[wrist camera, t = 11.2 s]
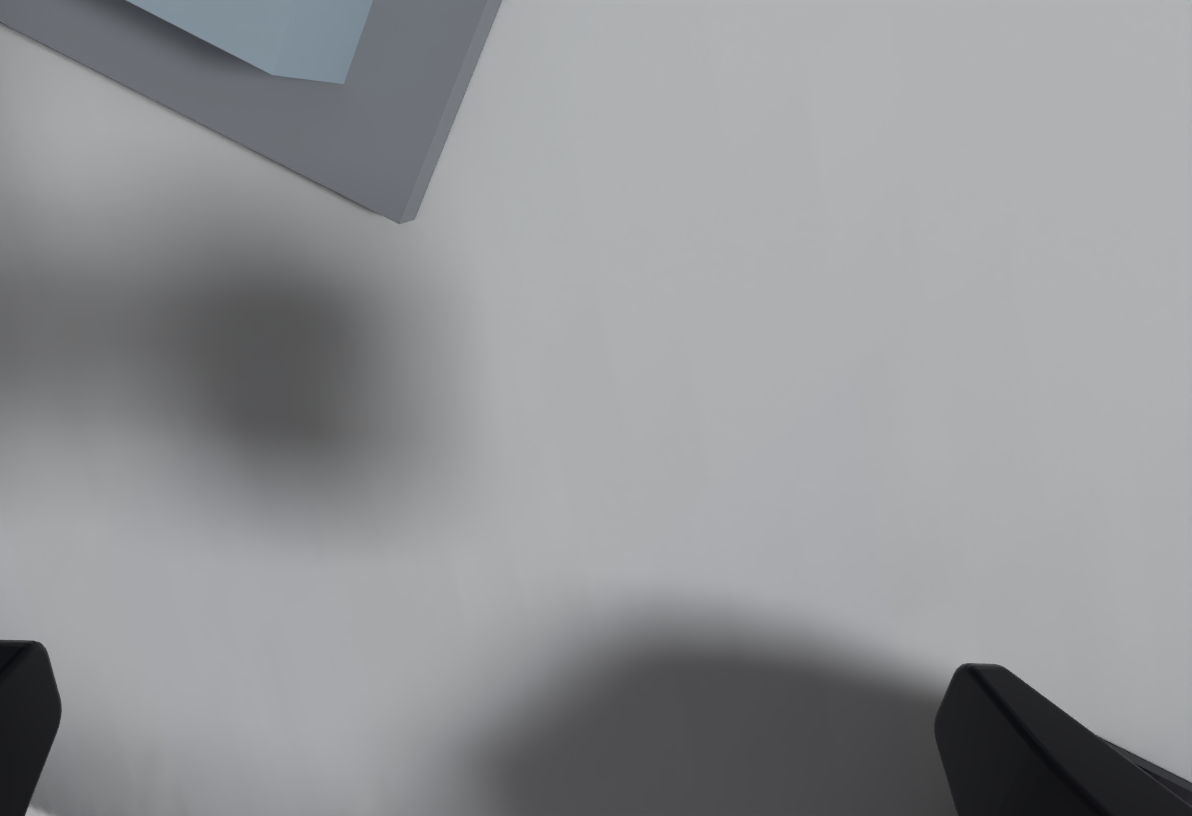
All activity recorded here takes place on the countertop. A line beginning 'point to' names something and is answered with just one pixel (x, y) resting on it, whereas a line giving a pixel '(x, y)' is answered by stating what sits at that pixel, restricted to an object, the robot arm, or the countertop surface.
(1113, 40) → the countertop surface
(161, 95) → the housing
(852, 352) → the countertop surface
